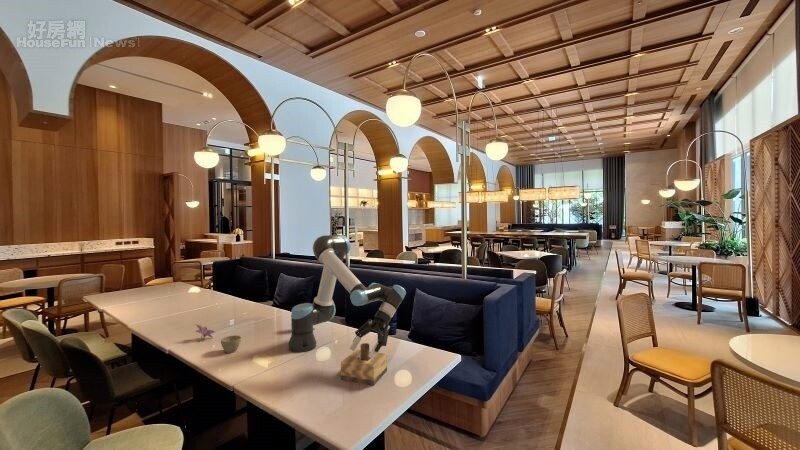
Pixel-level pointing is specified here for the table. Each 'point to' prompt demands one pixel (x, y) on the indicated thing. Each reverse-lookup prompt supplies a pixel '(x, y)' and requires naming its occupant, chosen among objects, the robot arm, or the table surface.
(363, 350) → the pin
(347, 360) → the socket block
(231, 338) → the flower pot
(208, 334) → the lily
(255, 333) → the table surface
